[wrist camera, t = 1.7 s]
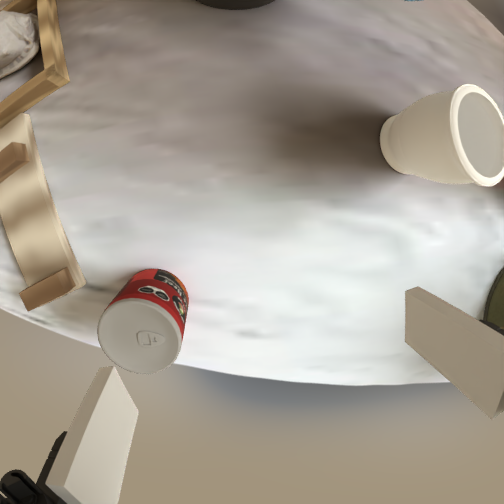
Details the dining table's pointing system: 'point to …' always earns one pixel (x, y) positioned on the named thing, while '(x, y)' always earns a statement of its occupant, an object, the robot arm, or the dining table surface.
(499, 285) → the lantern
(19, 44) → the seashell
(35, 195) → the ledge
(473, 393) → the robot arm
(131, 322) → the canned food
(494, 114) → the jar
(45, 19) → the shell cradle
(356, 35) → the dining table surface
